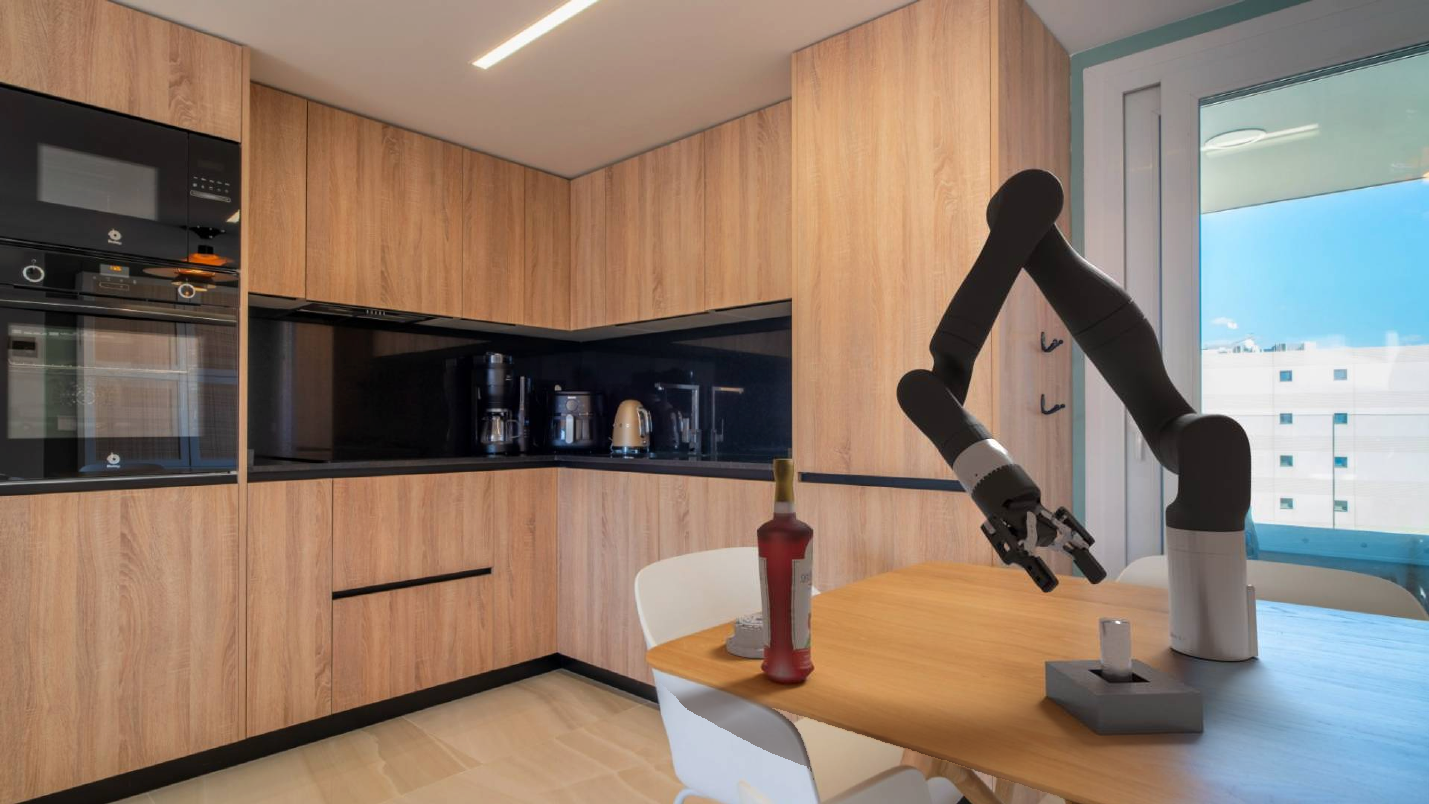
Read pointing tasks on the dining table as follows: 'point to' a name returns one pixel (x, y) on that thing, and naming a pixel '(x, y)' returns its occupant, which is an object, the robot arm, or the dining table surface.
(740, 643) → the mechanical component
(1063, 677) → the square hole block
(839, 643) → the dining table surface
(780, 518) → the liquor
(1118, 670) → the steel pin
